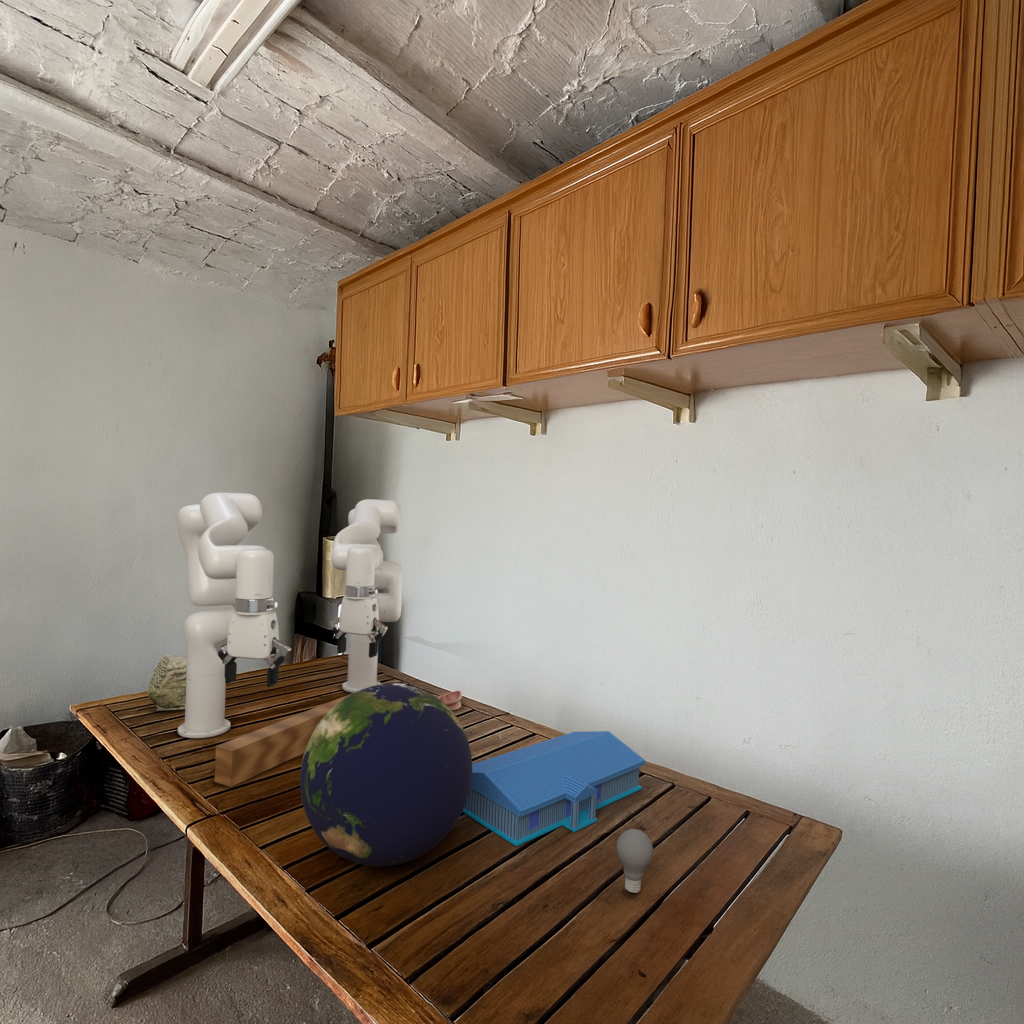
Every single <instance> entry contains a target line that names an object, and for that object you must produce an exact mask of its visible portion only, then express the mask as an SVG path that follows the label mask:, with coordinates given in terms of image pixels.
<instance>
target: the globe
mask: <svg viewBox="0 0 1024 1024" xmlns="http://www.w3.org/2000/svg"><path fill="white" fill-rule="evenodd" d="M350 694H351V695H350ZM350 694H349V695H350V696H348V697H346V698H345V699H343V700H342V701H340V702H339V703H338V704H337V705H335V706H334V707H333V708H332V709H331V710H330V711H329V712H328V713H327V714H326V715H325V716H324V717H323V719H322V720H321V721H320V722H319V724H318V725H317V727H316V728H315V730H314V732H313V734H312V736H311V738H310V740H309V742H308V744H307V747H306V750H305V753H303V755H302V761H301V765H300V766H301V767H300V774H299V789H300V798H301V802H302V807H303V811H304V813H305V815H306V818H307V820H308V822H309V824H310V827H311V828H312V830H313V831H314V833H315V834H316V836H317V837H318V839H320V841H321V842H322V843H323V844H324V845H325V846H326V847H328V849H330V850H331V851H332V852H334V853H335V854H337V855H338V856H340V857H341V858H343V859H345V860H347V861H348V862H349V861H350V862H353V863H356V864H358V865H363V866H368V867H376V868H377V867H383V868H384V867H392V866H398V865H402V864H405V863H409V862H410V861H413V860H416V859H418V858H420V857H421V856H424V855H425V854H426V853H428V852H430V851H431V850H432V849H433V848H435V847H436V846H437V845H439V844H440V843H441V842H442V841H443V840H444V839H445V838H446V837H447V836H448V834H450V832H451V831H452V830H453V828H454V827H455V825H456V824H457V822H458V820H459V819H460V817H461V815H462V814H463V812H462V811H463V809H464V807H465V804H466V802H467V798H468V795H469V791H470V786H471V780H472V764H473V758H472V757H473V756H472V752H471V746H470V743H469V742H470V741H469V739H468V736H467V732H466V731H465V729H464V727H463V725H462V724H461V723H462V722H460V720H459V718H458V717H457V715H456V714H455V713H454V712H453V710H450V709H449V707H448V706H447V705H446V704H445V703H443V702H442V701H441V700H440V699H438V698H437V696H436V695H434V694H433V693H431V692H428V691H426V690H424V689H422V688H419V687H416V686H413V685H410V684H404V683H381V685H375V686H371V687H368V688H365V689H362V690H360V691H357V692H355V693H353V694H352V693H350Z"/></svg>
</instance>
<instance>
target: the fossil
mask: <svg viewBox="0 0 1024 1024" xmlns="http://www.w3.org/2000/svg"><path fill="white" fill-rule="evenodd" d="M186 668H187V656H183V657H182V656H178V655H175V654H174V655H173V654H165V655H164V656H163V657H162V658H161V659H160V660H159V662H158V663H157V666H156V667H155V669H154V670H153V672H152V675H151V677H150V680H149V684H148V688H147V697H148V699H149V700H150V701H152V703H153V704H154V706H155V711H158V712H159V711H162V712H163V711H177V710H185V701H186Z"/></svg>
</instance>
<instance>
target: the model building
mask: <svg viewBox="0 0 1024 1024" xmlns="http://www.w3.org/2000/svg"><path fill="white" fill-rule="evenodd" d="M645 765H646V759H644V758H643V757H642V756H640V755H639V754H638V753H637V752H636V751H634V750H633V749H632V748H631V747H629V746H628V745H627V744H625V742H623V741H622V740H620V739H619V738H618V737H617V736H616V735H614V734H613V733H612V732H610V731H609V730H595V731H593V730H592V731H591V730H590V731H572V732H569V733H566V734H563V735H560V736H559V735H558V736H556V737H553V738H551V739H547V740H543V741H541V742H537V743H535V744H530V745H528V746H525V747H522V748H519V749H515V750H513V751H509V752H506V753H503V754H500V755H496V756H493V757H490V758H487V759H483V760H481V761H477V762H474V763H472V780H471V786H470V791H469V795H468V798H467V802H466V804H465V807H464V809H463V811H462V814H465V815H467V816H468V817H470V818H471V819H473V820H474V821H476V822H478V823H479V824H481V825H482V826H484V827H485V828H486V829H488V830H490V831H491V832H493V833H494V834H496V835H498V836H499V837H501V838H502V839H503V840H505V841H507V842H509V843H510V844H512V845H514V846H515V847H518V846H519V847H520V845H523V844H525V843H527V842H530V841H532V840H535V839H536V838H538V837H540V836H543V835H545V834H547V833H549V832H551V831H553V830H556V829H558V828H560V827H565V828H566V829H568V830H569V831H572V832H573V833H576V832H578V831H579V830H583V829H584V828H586V827H588V826H591V825H593V824H595V823H597V822H598V821H599V818H597V816H596V814H597V810H599V809H601V808H604V807H606V806H608V805H610V804H612V803H615V802H617V801H619V800H621V799H624V798H626V797H628V796H630V795H632V794H634V793H636V792H638V791H639V792H640V791H641V790H643V786H642V785H640V768H641V767H644V766H645Z"/></svg>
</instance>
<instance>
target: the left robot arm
mask: <svg viewBox="0 0 1024 1024" xmlns="http://www.w3.org/2000/svg"><path fill="white" fill-rule="evenodd" d="M262 516H263V507H262V503H261V501H260V500H259V498H258V497H257V496H256V495H254V494H252V493H245V492H221V491H220V492H219V491H218V492H211V493H209V494H207V495H205V496H204V497H203V498H202V500H201V501H200V503H197V504H195V503H194V504H189V505H185V506H183V507H181V508H180V509H179V511H178V512H177V515H176V529H177V535H178V538H179V541H180V544H181V546H182V549H183V551H184V554H185V557H186V575H187V591H188V592H187V593H188V599H189V601H190V603H191V604H192V605H194V606H195V607H216V606H217V607H218V606H232V607H233V608H231V609H212V610H203V611H197V612H194V613H192V614H189V615H188V616H187V618H186V619H185V620H184V623H183V634H184V641H185V651H186V652H185V653H186V657H187V668H186V701H185V709H184V722H182V724H180V725H179V726H178V727H177V734H178V735H179V736H180V737H182V738H188V739H207V738H212V737H216V736H220V735H222V734H224V733H227V732H228V731H230V729H231V727H232V725H231V723H232V722H231V721H230V720H228V719H226V718H225V715H226V692H227V691H226V689H227V684H228V685H229V684H230V683H233V682H235V681H236V680H237V669H238V668H237V667H238V664H237V662H236V659H249V660H264V661H265V662H266V664H267V666H268V667H269V668H267V670H266V687H267V688H272V687H273V686H275V685H277V683H278V682H279V674H280V673H279V670H280V666H281V665H282V664H283V663H284V662H285V661H286V660H287V659H288V657H289V655H290V652H291V651H292V648H291V647H290V646H289V645H287V644H285V643H284V642H282V641H281V640H280V630H279V621H278V616H277V612H276V611H274V609H277V608H278V605H279V604H278V603H279V602H278V601H274V597H273V593H274V566H275V565H274V563H275V555H274V553H273V551H272V550H270V549H267V548H266V546H265V547H264V546H263V545H256V544H255V545H253V544H251V545H243V544H240V543H241V542H242V541H244V540H245V538H246V536H247V534H248V533H249V532H250V531H252V530H253V529H254V528H255V527H256V526H257V525H259V523H260V522H261V519H262ZM225 646H226V647H225ZM279 652H280V655H279V656H278V654H279Z"/></svg>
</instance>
